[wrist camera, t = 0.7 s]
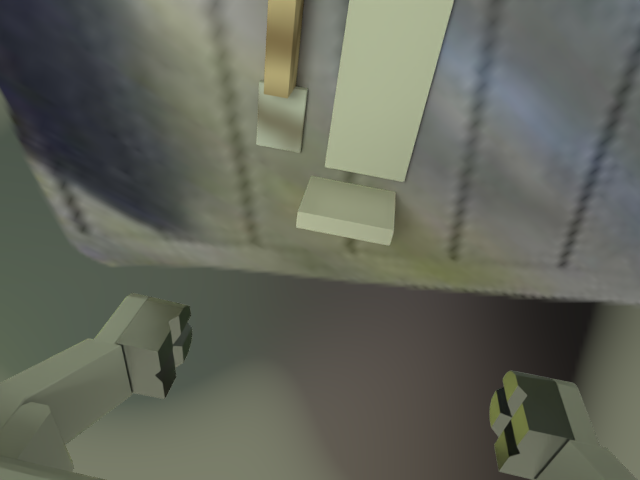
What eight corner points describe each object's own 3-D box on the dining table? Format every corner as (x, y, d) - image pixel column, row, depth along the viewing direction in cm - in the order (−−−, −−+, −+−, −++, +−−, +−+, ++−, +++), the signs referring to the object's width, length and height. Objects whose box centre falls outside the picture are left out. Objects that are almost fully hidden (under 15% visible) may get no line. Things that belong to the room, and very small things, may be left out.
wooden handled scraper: (266, -32, 40) (254, -27, 37) (320, -23, 40) (313, -17, 37) (258, 141, 50) (248, 156, 47) (301, 149, 50) (294, 165, 47)
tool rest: (356, -43, 39) (355, -42, 38) (459, -26, 38) (460, -25, 37) (326, 163, 51) (324, 166, 50) (404, 177, 50) (404, 182, 49)
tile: (311, 175, 52) (297, 211, 45) (395, 191, 51) (394, 230, 45) (309, 191, 53) (295, 228, 47) (391, 207, 53) (389, 246, 46)
